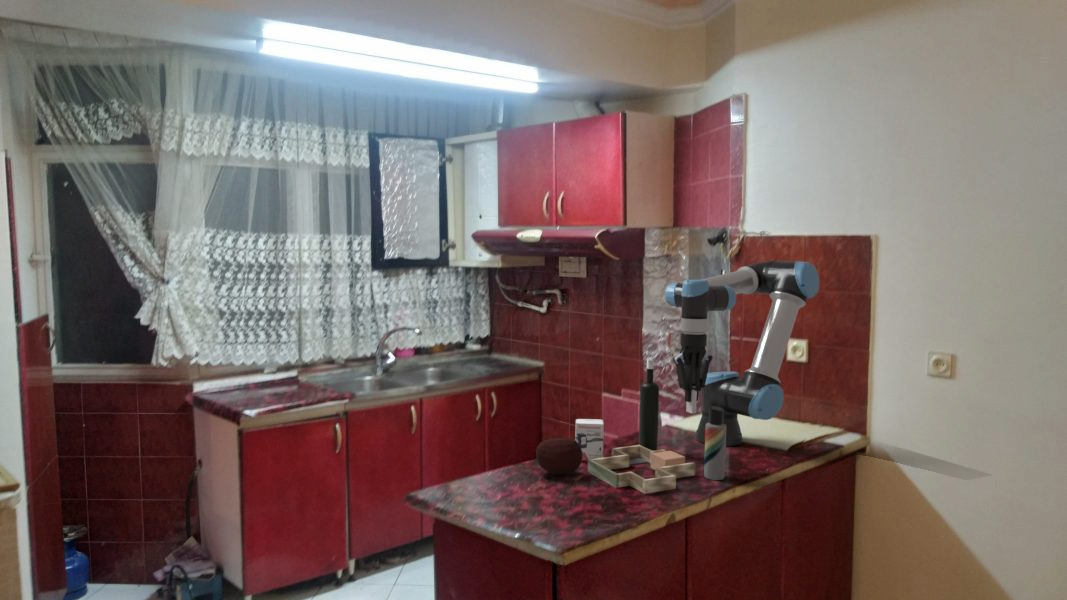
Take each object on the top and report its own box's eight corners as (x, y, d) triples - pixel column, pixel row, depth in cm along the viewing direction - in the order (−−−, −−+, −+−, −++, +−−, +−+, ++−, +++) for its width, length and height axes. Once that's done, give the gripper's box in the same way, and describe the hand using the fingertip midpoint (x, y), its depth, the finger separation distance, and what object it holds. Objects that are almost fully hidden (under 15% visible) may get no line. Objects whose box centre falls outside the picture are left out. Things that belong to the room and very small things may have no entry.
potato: (536, 467, 209) (536, 432, 209) (581, 468, 209) (582, 433, 208) (535, 479, 198) (535, 443, 198) (582, 481, 198) (583, 444, 197)
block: (670, 465, 214) (670, 450, 213) (684, 472, 208) (685, 456, 207) (650, 468, 211) (650, 453, 210) (664, 475, 204) (665, 459, 204)
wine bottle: (651, 448, 230) (654, 356, 228) (660, 453, 225) (663, 358, 222) (635, 450, 228) (638, 356, 226) (644, 455, 223) (646, 359, 221)
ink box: (574, 461, 216) (575, 422, 215) (574, 456, 221) (575, 418, 220) (603, 462, 216) (604, 423, 215) (602, 457, 221) (603, 419, 220)
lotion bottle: (710, 472, 207) (713, 404, 205) (728, 477, 203) (730, 407, 201) (699, 476, 203) (702, 407, 201) (717, 481, 199) (720, 410, 197)
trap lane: (649, 454, 224) (650, 443, 224) (711, 482, 198) (711, 470, 198) (575, 464, 212) (575, 453, 212) (630, 496, 186) (630, 483, 186)
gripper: (703, 330, 216) (700, 407, 218) (667, 332, 210) (665, 411, 212) (719, 333, 209) (717, 413, 211) (683, 335, 203) (681, 417, 205)
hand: (691, 412), depth 211 cm, fingers closed
